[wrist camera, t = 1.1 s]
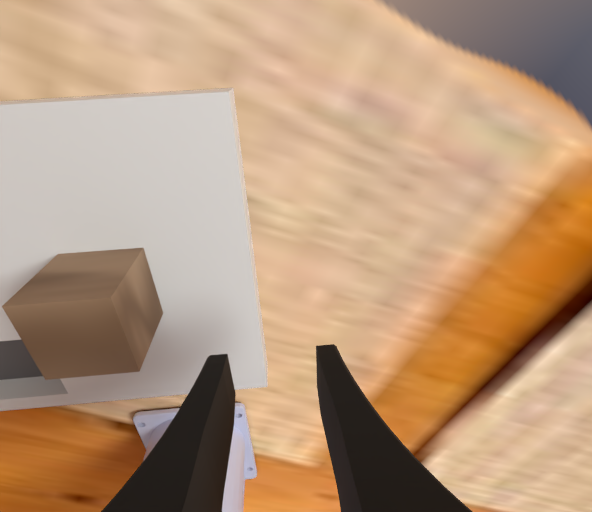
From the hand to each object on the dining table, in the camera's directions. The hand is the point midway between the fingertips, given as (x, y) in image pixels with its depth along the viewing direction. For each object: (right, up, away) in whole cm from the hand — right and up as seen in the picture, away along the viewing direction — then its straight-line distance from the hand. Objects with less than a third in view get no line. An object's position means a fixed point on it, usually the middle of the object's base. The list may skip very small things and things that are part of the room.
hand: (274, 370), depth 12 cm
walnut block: (-8, +3, +5) cm, 10 cm away
